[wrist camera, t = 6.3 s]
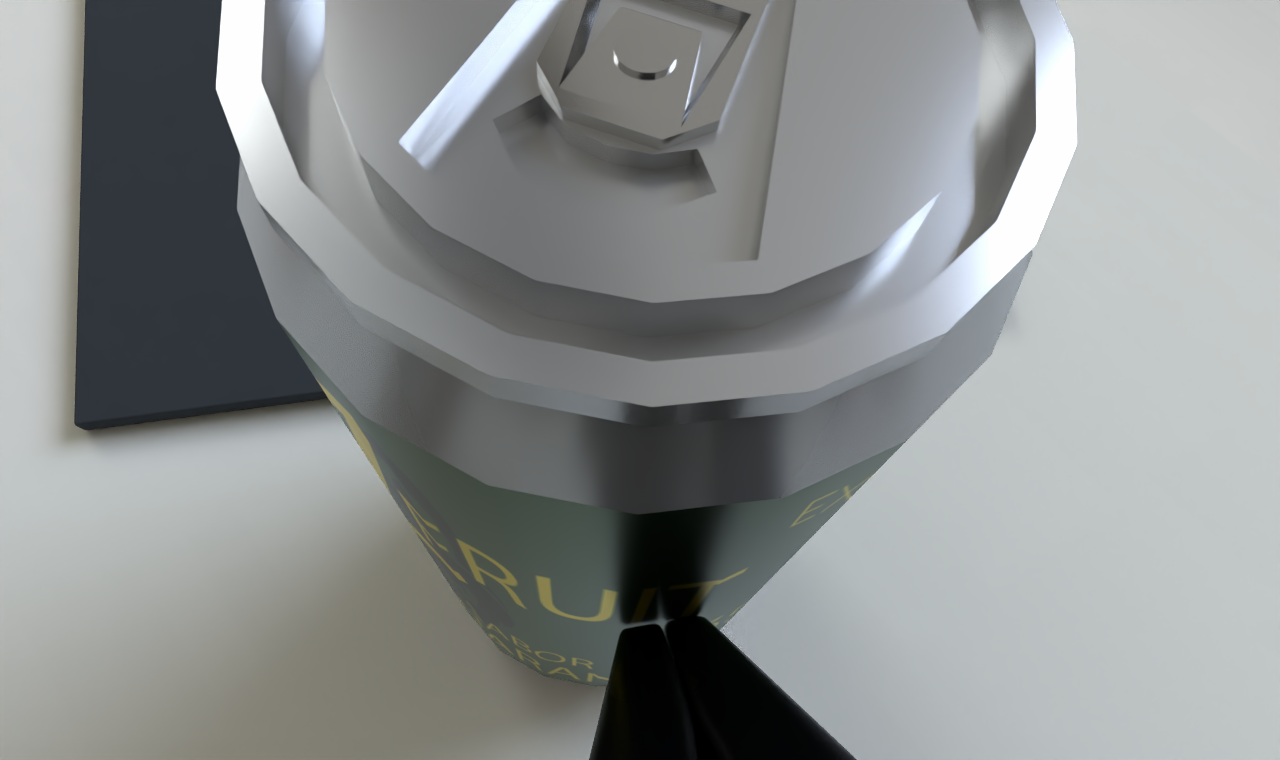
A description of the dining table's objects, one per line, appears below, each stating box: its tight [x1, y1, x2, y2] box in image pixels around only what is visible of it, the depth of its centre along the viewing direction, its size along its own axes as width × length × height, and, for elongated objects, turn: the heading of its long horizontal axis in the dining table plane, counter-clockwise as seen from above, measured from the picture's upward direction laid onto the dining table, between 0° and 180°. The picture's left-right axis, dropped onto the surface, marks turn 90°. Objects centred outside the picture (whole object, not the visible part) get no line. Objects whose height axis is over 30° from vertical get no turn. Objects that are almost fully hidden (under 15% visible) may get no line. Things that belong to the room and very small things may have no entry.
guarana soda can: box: [216, 0, 1077, 686], centre depth 11 cm, size 5×5×12 cm
